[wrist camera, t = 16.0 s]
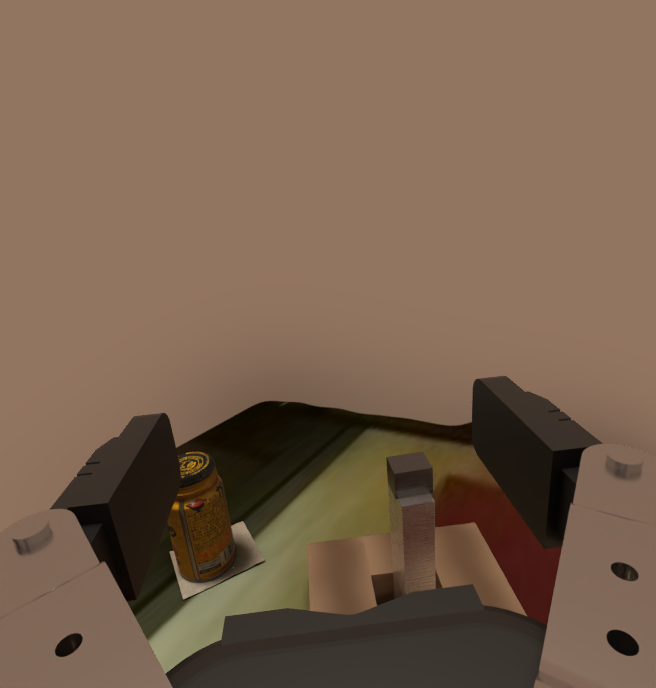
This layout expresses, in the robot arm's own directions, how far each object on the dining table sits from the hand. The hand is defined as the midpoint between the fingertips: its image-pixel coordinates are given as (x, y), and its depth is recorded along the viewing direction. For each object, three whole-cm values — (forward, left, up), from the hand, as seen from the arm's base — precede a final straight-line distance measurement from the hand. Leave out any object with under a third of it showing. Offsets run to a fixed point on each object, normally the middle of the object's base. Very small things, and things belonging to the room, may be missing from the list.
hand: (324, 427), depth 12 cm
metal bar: (+1, +16, -30) cm, 34 cm away
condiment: (-20, +24, -30) cm, 43 cm away
